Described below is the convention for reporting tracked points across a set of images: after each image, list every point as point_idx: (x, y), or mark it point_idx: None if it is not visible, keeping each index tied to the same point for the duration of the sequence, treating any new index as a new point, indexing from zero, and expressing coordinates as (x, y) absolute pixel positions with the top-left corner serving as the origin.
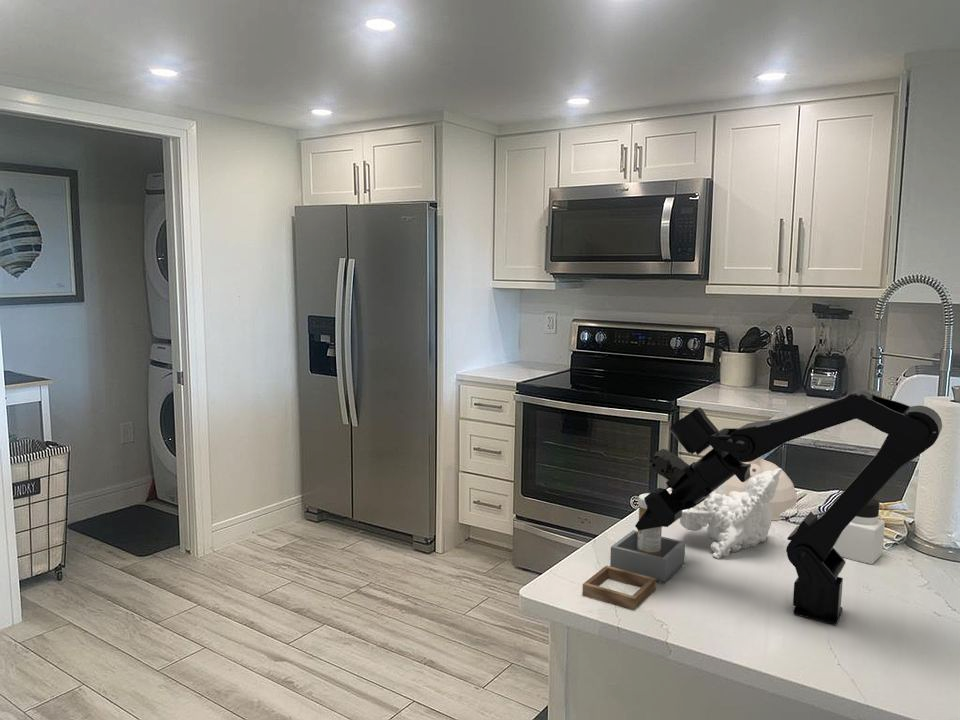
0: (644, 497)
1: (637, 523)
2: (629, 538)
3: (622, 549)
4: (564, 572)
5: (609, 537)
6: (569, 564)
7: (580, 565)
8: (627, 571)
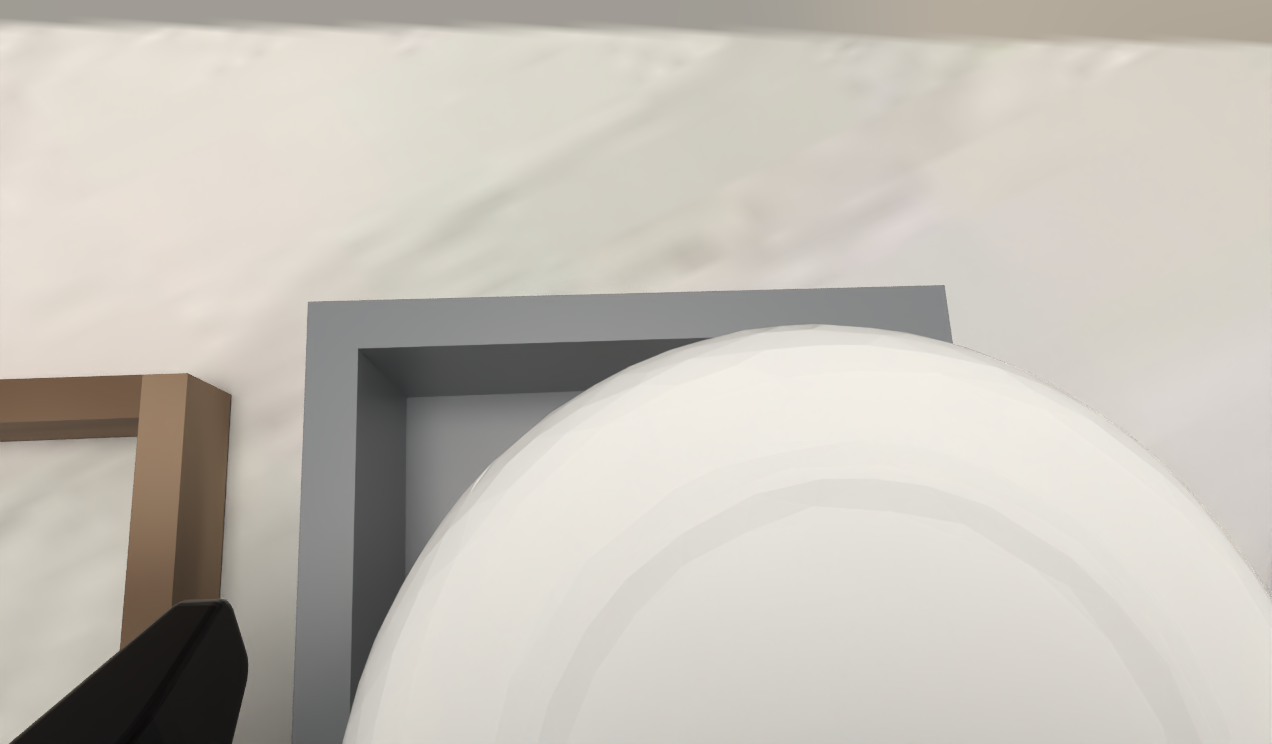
0: (549, 664)
1: (103, 675)
2: None
3: (306, 445)
4: (107, 96)
5: (998, 73)
6: (282, 59)
7: (315, 135)
8: (154, 614)
